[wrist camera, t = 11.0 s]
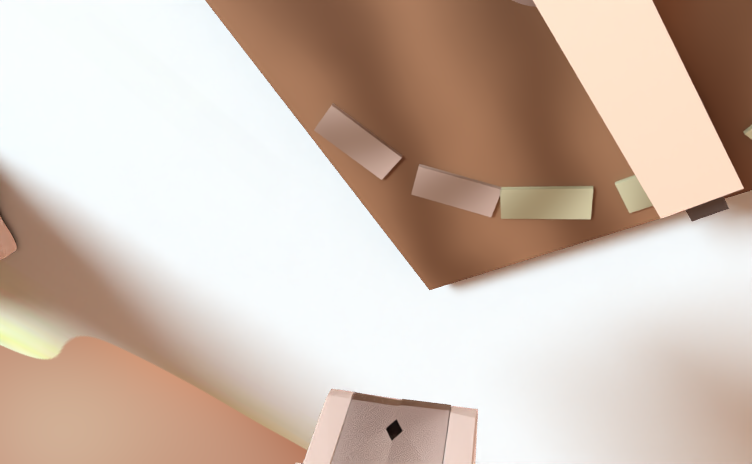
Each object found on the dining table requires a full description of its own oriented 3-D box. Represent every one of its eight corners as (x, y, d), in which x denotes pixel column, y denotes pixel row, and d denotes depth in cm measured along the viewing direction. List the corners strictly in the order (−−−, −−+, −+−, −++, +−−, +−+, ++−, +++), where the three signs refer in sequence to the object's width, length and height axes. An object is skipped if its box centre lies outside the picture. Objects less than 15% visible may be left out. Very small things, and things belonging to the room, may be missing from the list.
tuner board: (433, 271, 29) (428, 292, 28) (140, -120, 20) (113, -114, 19) (881, 123, 19) (905, 146, 18) (692, -785, 10) (713, -868, 9)
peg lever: (460, -109, 17) (443, -90, 14) (582, -215, 14) (591, -217, 12) (643, 200, 22) (657, 257, 19) (755, 157, 19) (788, 215, 17)
